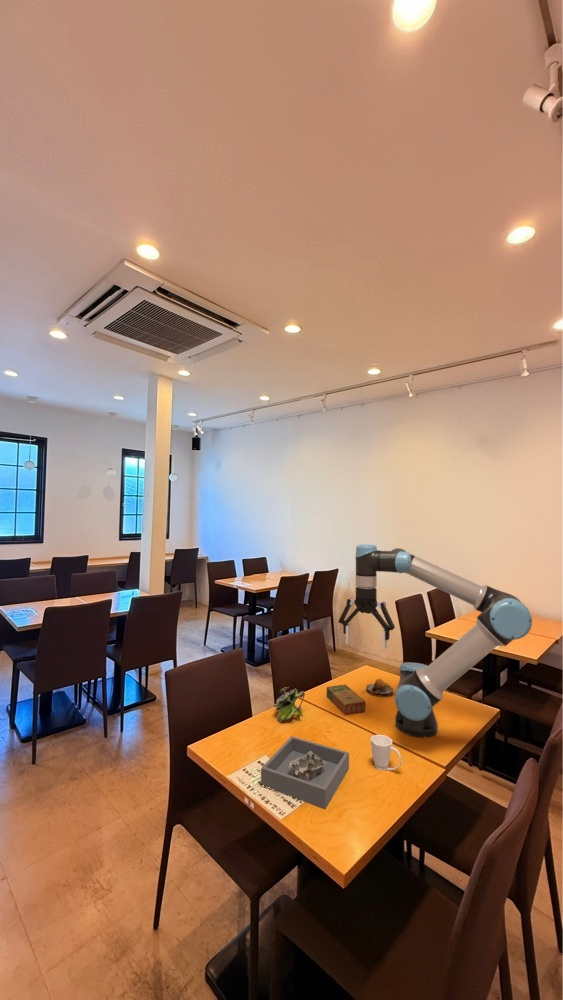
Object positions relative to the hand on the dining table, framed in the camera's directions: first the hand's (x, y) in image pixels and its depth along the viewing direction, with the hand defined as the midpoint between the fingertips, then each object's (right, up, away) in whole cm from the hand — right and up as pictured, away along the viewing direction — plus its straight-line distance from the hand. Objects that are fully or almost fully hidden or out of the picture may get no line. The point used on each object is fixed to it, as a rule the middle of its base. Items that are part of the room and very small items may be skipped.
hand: (365, 646), depth 148 cm
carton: (-4, -33, +23) cm, 41 cm away
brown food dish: (+14, -34, +36) cm, 52 cm away
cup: (+2, -31, -21) cm, 37 cm away
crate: (-23, -30, -26) cm, 46 cm away
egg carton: (-23, -30, -25) cm, 45 cm away
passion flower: (-27, -32, +12) cm, 44 cm away
